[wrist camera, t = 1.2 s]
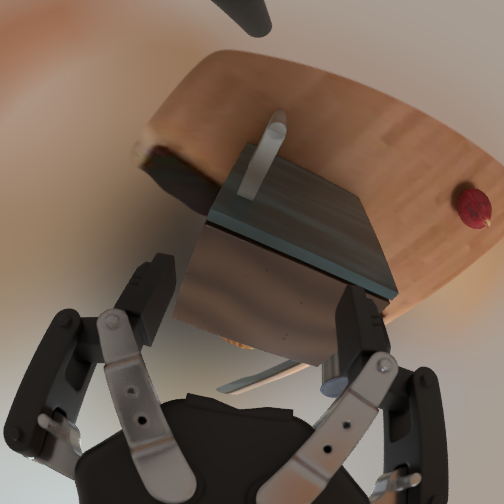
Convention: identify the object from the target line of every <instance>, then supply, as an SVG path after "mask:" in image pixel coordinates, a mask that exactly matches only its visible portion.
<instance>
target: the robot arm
mask: <svg viewBox="0 0 504 504" xmlns="http://www.w3.org/2000/svg"><path fill="white" fill-rule="evenodd" d="M175 286H176V272H175V260H174V256H173V255H168V254H163V253H157V254H156V255H155V257H154V259H153V261H152V262H145V263H143V264H142V265H141V266H139V267H138V268H137V269H136V271H135V273H134V274H133V276H132V278H131V279H130V281H129V283H128V284H127V286H126V287H125V289H124V291H123V292H122V294H121V296H120V297H119V299H118V301H117V303H116V304H115V306H114V308H113V309H108V310H106V311H104V312H103V313H101V314H100V316H99V317H80V315H79V313H78V312H77V311H76V310H74V309H64V310H62V311H60V312H58V313H57V314H56V316H55V317H54V319H53V320H52V322H51V324H50V326H49V328H48V329H47V331H46V333H45V335H44V337H43V339H42V340H41V342H40V344H39V346H38V348H37V350H36V352H35V354H34V356H33V358H32V360H31V362H30V365H29V366H28V369H27V371H26V373H25V375H24V377H23V379H22V382H21V384H20V386H19V389H18V391H17V394H16V397H15V398H14V401H13V403H12V406H11V409H10V411H9V415H8V417H7V420H6V423H5V426H4V433H3V434H4V438H5V441H6V443H7V445H8V446H9V447H10V448H11V449H12V450H13V451H15V452H18V453H20V454H22V455H23V456H24V457H26V458H29V459H31V460H33V461H35V462H38V463H40V464H44V465H46V466H48V467H49V468H51V469H53V470H55V471H57V472H59V473H61V474H63V475H65V476H66V477H68V478H71V479H73V480H75V484H76V487H77V491H78V496H79V504H447V501H448V453H447V440H446V429H445V421H444V413H443V407H442V400H441V394H440V388H439V382H438V378H437V376H436V374H435V373H434V371H432V370H431V369H430V368H428V367H420V368H418V369H417V370H416V371H415V372H413V371H410V370H407V369H404V368H402V367H399V366H398V364H397V361H396V360H395V358H394V357H393V356H391V355H390V354H389V353H388V351H387V347H386V342H385V337H384V333H383V328H382V326H381V320H380V316H379V312H378V308H377V306H376V305H375V303H374V302H373V300H372V299H368V298H367V297H366V293H365V289H364V287H362V286H355V285H347V286H346V288H345V290H344V292H343V295H342V297H341V299H340V301H339V303H338V305H337V308H336V311H335V325H336V335H337V346H338V359H339V373H340V378H348V385H347V386H346V387H345V388H344V390H343V391H342V392H341V393H340V395H339V396H338V397H337V399H336V400H335V401H334V402H333V404H332V405H331V406H330V407H329V408H328V410H327V411H326V412H325V413H324V414H323V415H322V417H321V418H320V419H319V420H318V421H317V422H316V423H315V424H314V425H313V426H311V425H309V424H308V423H307V422H305V421H303V420H302V419H300V418H297V417H295V416H293V410H292V409H281V408H272V407H263V408H253V409H237V408H234V407H232V406H229V405H227V404H224V403H222V402H220V401H218V400H216V399H213V398H209V397H204V396H199V395H195V394H190V393H187V396H186V399H176V400H171V401H168V402H165V403H163V404H161V403H160V400H159V398H158V396H157V394H156V391H155V389H154V386H153V384H152V382H151V379H150V376H149V374H148V371H147V369H146V366H145V363H144V361H143V358H142V355H141V349H142V347H143V345H146V346H150V347H151V346H152V343H153V341H154V338H155V336H156V333H157V331H158V328H159V326H160V324H161V321H162V319H163V317H164V314H165V312H166V310H167V307H168V305H169V303H170V300H171V298H172V296H173V293H174V291H175ZM97 363H105V366H104V372H105V375H106V380H107V383H108V387H109V390H110V393H111V397H112V400H113V403H114V406H115V409H116V412H117V415H118V418H119V421H120V424H121V427H122V430H120V431H119V432H117V433H115V434H114V435H112V436H111V437H109V438H107V439H106V440H104V441H103V442H101V443H99V444H97V445H96V446H94V447H92V448H91V449H89V450H87V451H86V452H84V453H82V452H81V448H80V439H81V436H80V432H79V429H78V428H77V426H76V425H75V423H76V420H77V417H78V413H79V411H80V408H81V405H82V402H83V399H84V396H85V393H86V391H87V388H88V385H89V383H90V380H91V377H92V375H93V372H94V369H95V367H96V364H97ZM378 408H380V409H383V417H384V419H383V420H384V472H383V475H382V476H380V477H379V478H378V479H377V481H376V483H375V486H374V488H373V492H372V494H371V496H370V497H369V498H368V497H367V495H366V494H365V493H364V491H363V490H362V489H361V488H360V487H359V485H358V484H357V483H356V482H355V481H354V479H353V478H352V477H351V476H350V474H349V473H348V472H347V471H346V469H345V468H344V467H343V465H342V464H343V463H344V461H345V460H346V459H347V457H348V456H349V454H350V453H351V452H352V451H353V449H354V448H355V447H356V445H357V444H358V443H359V441H360V440H361V438H362V437H363V435H364V434H365V432H366V431H367V430H368V428H369V427H370V425H371V424H372V422H373V420H374V419H375V417H376V416H377V414H378V411H379V410H378Z"/></svg>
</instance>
